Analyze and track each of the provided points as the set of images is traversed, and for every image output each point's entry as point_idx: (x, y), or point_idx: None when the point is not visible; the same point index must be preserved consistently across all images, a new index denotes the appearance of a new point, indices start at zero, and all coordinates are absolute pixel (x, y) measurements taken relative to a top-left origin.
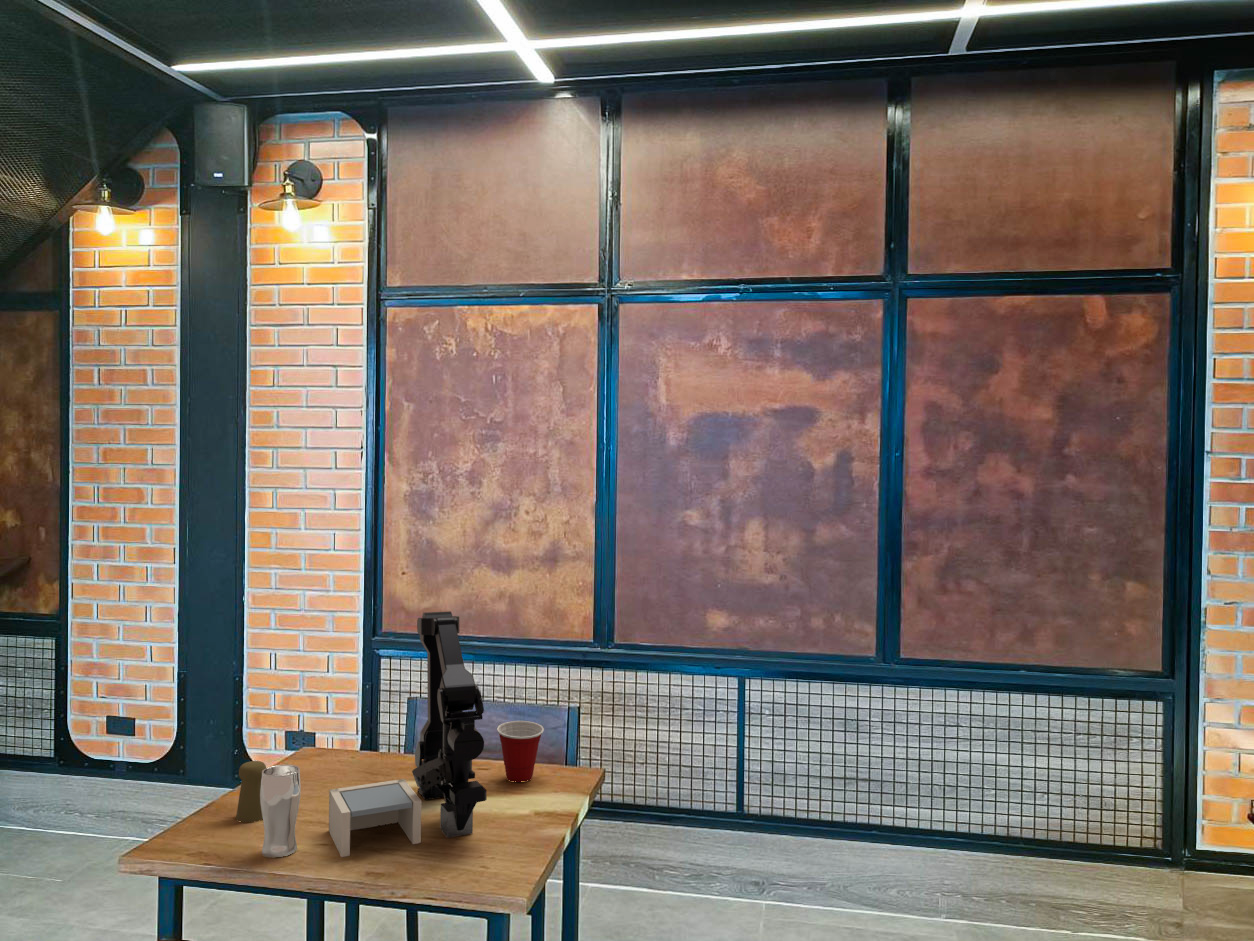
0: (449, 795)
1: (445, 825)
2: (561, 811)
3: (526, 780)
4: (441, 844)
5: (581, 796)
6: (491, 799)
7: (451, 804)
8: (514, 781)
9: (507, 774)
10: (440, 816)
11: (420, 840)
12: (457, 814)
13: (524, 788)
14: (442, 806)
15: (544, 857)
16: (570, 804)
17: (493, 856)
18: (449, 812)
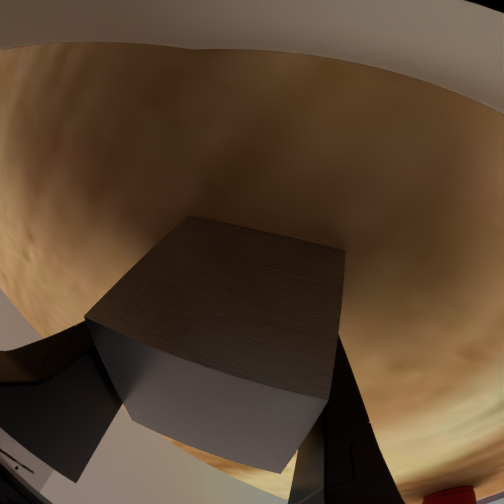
0: (310, 490)
1: (204, 257)
2: (240, 472)
3: (425, 499)
4: (128, 154)
5: (288, 499)
6: (426, 461)
7: (240, 422)
8: (444, 492)
9: (462, 498)
10: (339, 305)
11: (186, 47)
12: (65, 332)
13: (405, 492)
14: (250, 375)
15: (34, 327)
16: (264, 486)
17: (30, 261)
18: (92, 324)
